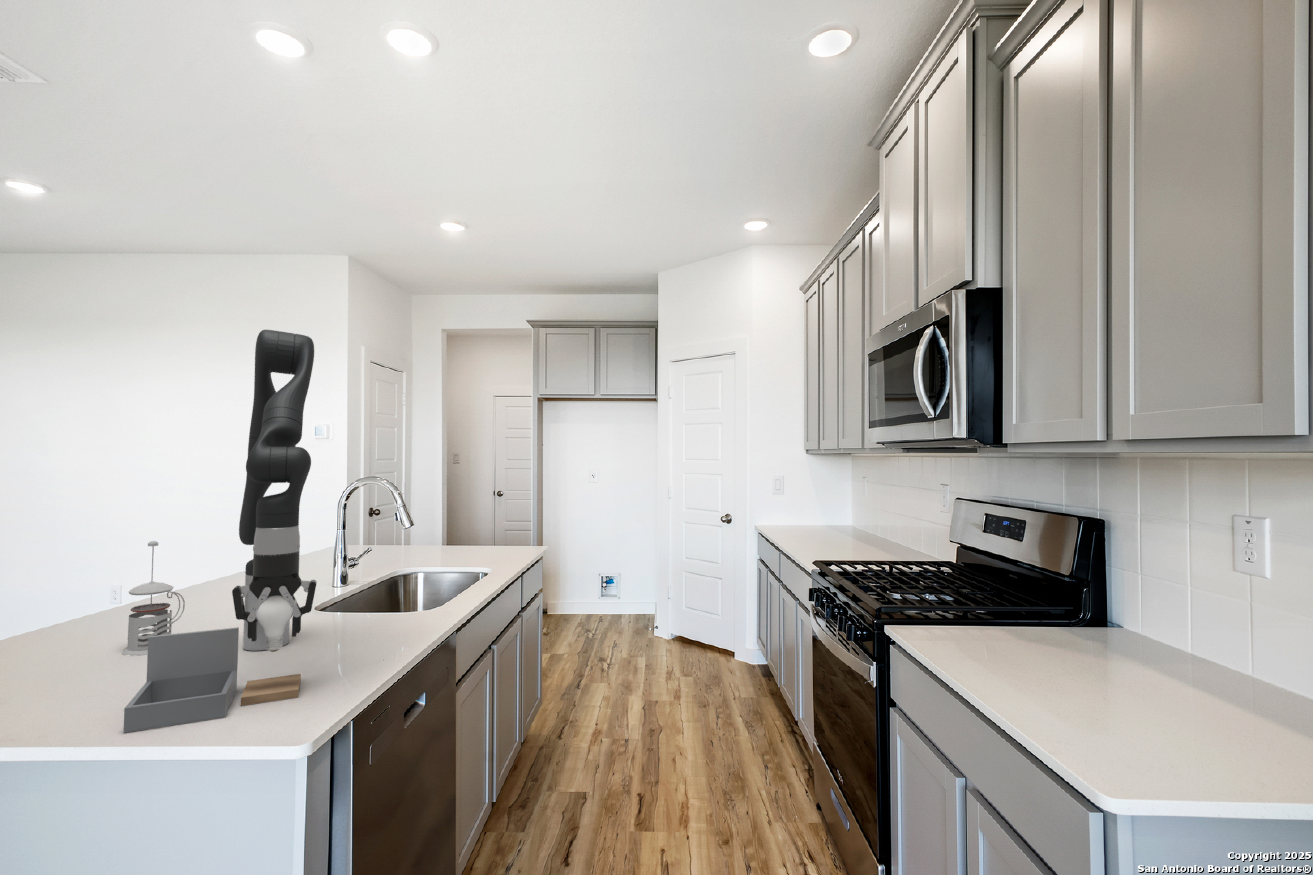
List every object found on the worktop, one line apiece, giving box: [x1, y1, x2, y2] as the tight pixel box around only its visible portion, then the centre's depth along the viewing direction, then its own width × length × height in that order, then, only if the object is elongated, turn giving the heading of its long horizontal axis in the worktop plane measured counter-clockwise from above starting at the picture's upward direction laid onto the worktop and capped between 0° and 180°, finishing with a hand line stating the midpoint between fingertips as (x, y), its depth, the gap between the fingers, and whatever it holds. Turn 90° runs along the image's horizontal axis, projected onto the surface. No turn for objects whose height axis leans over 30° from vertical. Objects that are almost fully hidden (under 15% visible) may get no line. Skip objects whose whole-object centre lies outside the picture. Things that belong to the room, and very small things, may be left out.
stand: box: [239, 673, 302, 707], centre depth 115 cm, size 9×9×2 cm
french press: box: [121, 540, 186, 656], centre depth 141 cm, size 10×12×25 cm
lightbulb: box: [256, 596, 293, 653], centre depth 116 cm, size 6×6×11 cm
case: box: [122, 627, 240, 734], centre depth 107 cm, size 14×14×12 cm
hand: (274, 637), depth 115 cm, fingers closed on lightbulb, 6 cm apart
